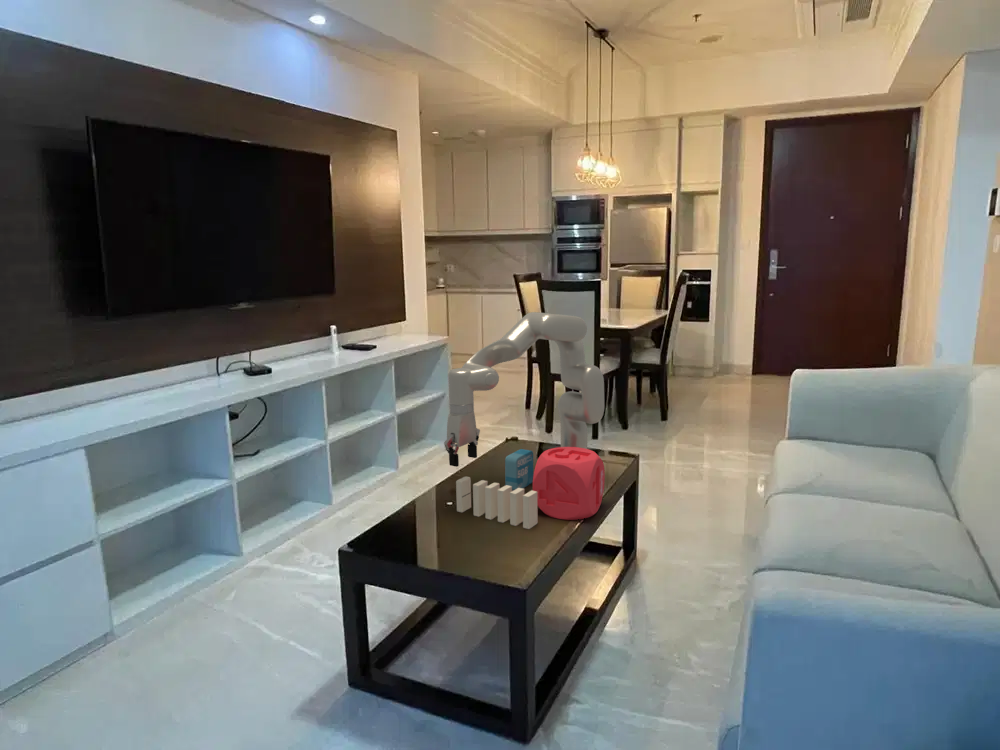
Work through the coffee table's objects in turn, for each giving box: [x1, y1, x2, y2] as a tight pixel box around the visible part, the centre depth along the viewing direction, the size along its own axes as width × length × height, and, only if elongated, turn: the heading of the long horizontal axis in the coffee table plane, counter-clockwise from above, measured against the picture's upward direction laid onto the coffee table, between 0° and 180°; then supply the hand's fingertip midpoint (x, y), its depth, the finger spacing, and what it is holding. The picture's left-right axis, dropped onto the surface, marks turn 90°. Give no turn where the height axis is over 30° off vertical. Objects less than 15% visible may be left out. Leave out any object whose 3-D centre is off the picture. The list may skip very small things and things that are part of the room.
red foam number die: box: [532, 446, 606, 521], centre depth 209 cm, size 18×18×18 cm
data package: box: [504, 448, 534, 491], centre depth 231 cm, size 12×4×12 cm, turn 148°
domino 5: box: [509, 488, 525, 527], centre depth 200 cm, size 2×5×10 cm, turn 147°
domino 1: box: [455, 476, 472, 513], centre depth 210 cm, size 2×5×10 cm, turn 147°
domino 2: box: [472, 479, 489, 517], centre depth 207 cm, size 2×5×10 cm, turn 147°
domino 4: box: [497, 485, 513, 523], centre depth 202 cm, size 2×5×10 cm, turn 147°
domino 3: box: [484, 482, 501, 521], centre depth 204 cm, size 2×5×10 cm, turn 147°
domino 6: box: [522, 490, 539, 530], centre depth 197 cm, size 2×5×10 cm, turn 147°
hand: (463, 461), depth 209 cm, fingers open, 9 cm apart
